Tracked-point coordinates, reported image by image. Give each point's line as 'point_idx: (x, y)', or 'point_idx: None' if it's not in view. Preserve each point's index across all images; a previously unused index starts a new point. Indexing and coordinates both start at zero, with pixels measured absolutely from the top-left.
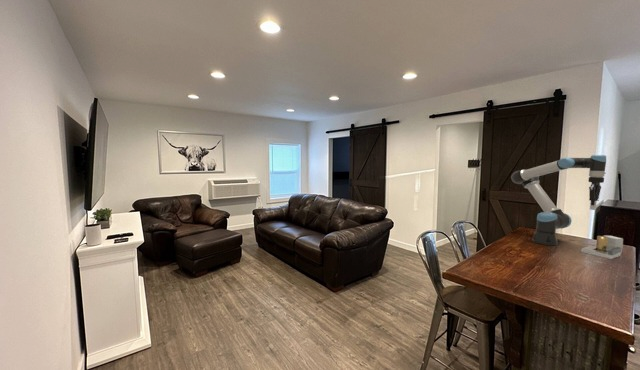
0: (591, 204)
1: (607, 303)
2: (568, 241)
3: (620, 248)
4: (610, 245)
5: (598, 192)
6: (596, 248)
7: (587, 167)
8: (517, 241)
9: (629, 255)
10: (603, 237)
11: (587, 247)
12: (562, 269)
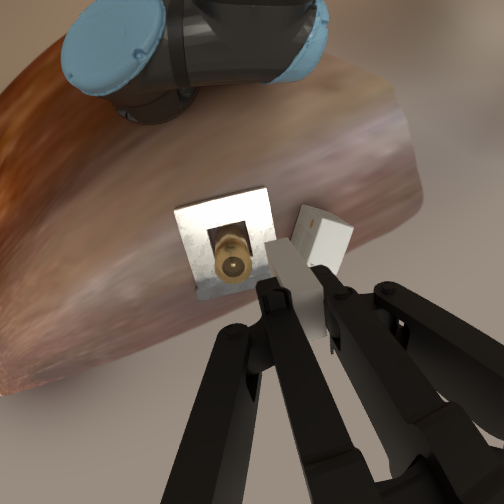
0: (257, 290)
1: (10, 378)
2: (291, 91)
3: None
4: (300, 239)
5: (450, 396)
6: (217, 237)
7: None
8: None
9: None
10: (225, 275)
11: (215, 206)
12: (10, 301)
